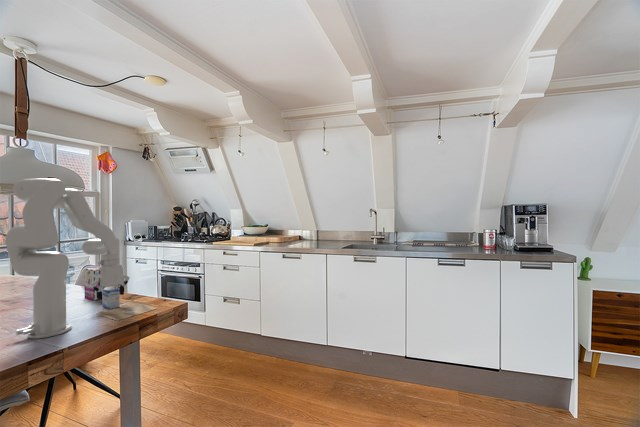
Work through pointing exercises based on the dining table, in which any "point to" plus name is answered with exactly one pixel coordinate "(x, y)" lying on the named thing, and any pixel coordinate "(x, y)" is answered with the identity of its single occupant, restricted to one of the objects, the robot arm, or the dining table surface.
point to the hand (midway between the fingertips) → (110, 296)
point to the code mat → (126, 311)
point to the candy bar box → (90, 277)
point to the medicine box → (110, 298)
